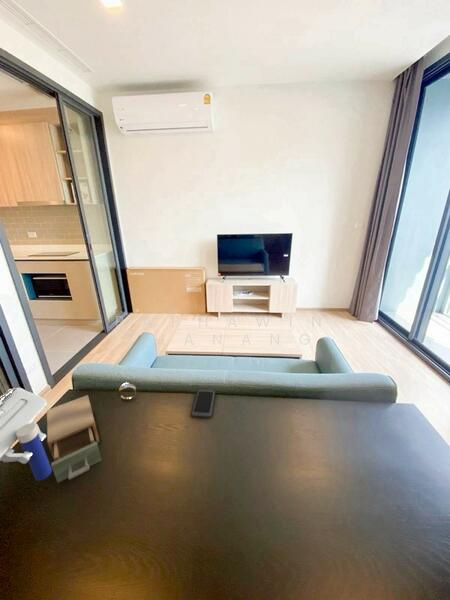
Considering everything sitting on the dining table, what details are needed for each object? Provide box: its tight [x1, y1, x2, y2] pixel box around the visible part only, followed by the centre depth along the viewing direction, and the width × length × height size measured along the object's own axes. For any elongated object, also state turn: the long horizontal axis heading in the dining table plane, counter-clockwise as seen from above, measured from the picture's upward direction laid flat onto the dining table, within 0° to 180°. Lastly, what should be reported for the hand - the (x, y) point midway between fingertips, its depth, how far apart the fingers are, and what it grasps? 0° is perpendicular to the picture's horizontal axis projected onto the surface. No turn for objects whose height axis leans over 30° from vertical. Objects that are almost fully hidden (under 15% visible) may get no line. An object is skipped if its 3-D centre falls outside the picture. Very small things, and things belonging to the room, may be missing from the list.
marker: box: [16, 422, 53, 482], centre depth 55 cm, size 3×3×14 cm
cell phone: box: [191, 389, 216, 418], centre depth 97 cm, size 7×14×1 cm, turn 175°
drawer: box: [50, 426, 102, 484], centre depth 75 cm, size 19×11×7 cm, turn 35°
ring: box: [117, 382, 137, 401], centre depth 98 cm, size 7×3×8 cm, turn 98°
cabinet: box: [46, 394, 100, 462], centre depth 83 cm, size 16×13×9 cm
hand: (36, 449), depth 55 cm, fingers closed on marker, 3 cm apart
